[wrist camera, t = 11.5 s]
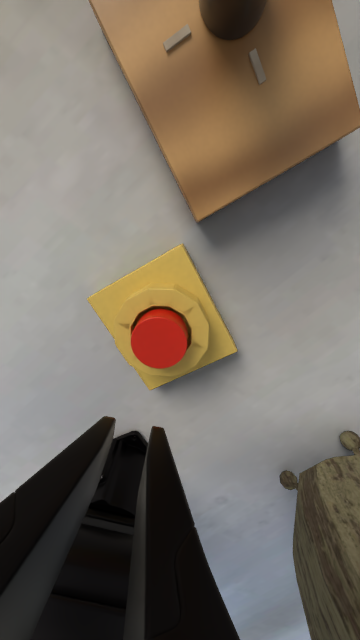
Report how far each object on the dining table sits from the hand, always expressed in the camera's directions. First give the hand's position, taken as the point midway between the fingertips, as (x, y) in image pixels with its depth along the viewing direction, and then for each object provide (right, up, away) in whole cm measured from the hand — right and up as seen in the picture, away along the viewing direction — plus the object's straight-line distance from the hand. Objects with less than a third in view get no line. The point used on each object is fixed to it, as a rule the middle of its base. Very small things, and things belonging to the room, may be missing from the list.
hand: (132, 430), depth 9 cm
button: (0, +3, +8) cm, 9 cm away
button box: (+1, +4, +11) cm, 12 cm away
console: (+4, +18, +6) cm, 19 cm away
